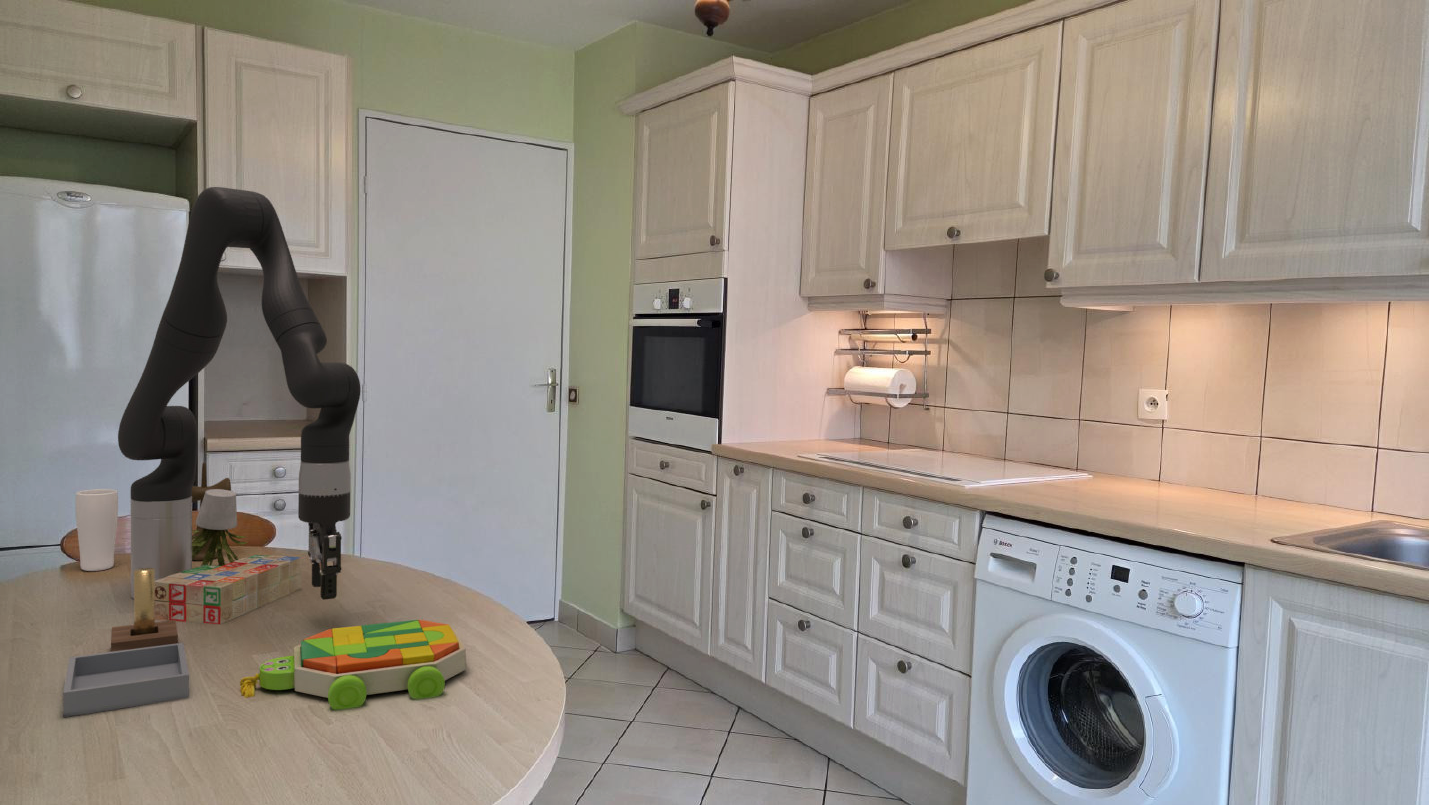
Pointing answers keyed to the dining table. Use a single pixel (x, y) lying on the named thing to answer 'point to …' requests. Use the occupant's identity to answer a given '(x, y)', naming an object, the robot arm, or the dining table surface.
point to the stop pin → (144, 601)
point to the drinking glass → (96, 527)
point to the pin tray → (125, 679)
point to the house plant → (216, 525)
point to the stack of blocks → (225, 589)
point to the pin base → (143, 636)
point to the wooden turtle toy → (367, 663)
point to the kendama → (199, 495)
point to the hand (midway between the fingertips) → (323, 592)
